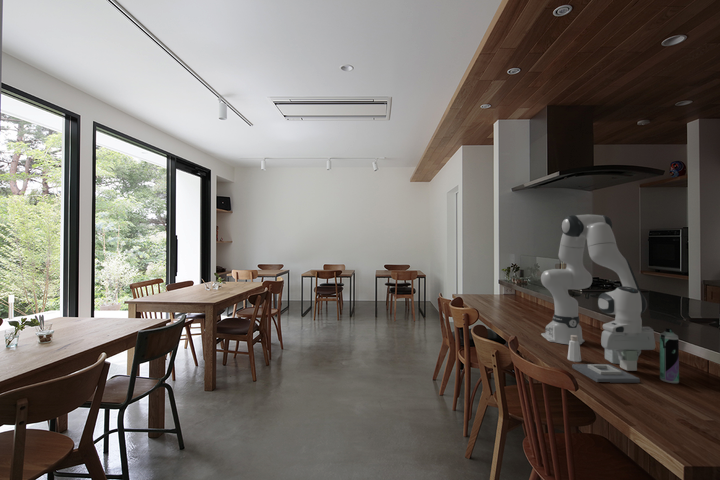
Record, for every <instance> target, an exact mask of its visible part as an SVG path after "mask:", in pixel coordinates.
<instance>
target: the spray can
mask: <svg viewBox="0 0 720 480" xmlns="http://www.w3.org/2000/svg"><path fill="white" fill-rule="evenodd" d="M679 342H680V341H679V335H678V334H676V333H674V331H673V329H672V328H665V329H664V331H663V332H660V333H659V380H660V381H663V382H665V383H671V384H679V383H680V370H679V369H680V364H679V363H680V356H679V353H680V352H679V351H680V350H679V347H680V344H679Z"/></svg>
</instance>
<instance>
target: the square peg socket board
mask: <svg viewBox="0 0 720 480" xmlns="http://www.w3.org/2000/svg"><path fill="white" fill-rule="evenodd" d="M571 368H572V369H574V370H576V371H578V372H579V373H581V374H582V375H584V376H585V377H587V378H588V379H591V380H592V381H594V382H596V383H597V382H610V383H612V384H613V383H615V384H616V383H619V384H620V383H639V384H640V383H641V381H640V379H641V378H639V377H637V376H635V375H633V374H631V373H629V372H628V371H627V372H626V370H624V369H623V370H622V368H621V369H620V367H616V366H614V365H613V364H611V363H609V364H608V363H606V364H605V363H594V364H593V363H587V364H586V363H572V365H571ZM610 383H609V384H610Z"/></svg>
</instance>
